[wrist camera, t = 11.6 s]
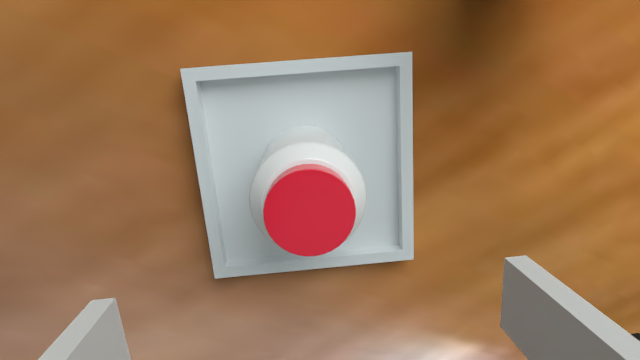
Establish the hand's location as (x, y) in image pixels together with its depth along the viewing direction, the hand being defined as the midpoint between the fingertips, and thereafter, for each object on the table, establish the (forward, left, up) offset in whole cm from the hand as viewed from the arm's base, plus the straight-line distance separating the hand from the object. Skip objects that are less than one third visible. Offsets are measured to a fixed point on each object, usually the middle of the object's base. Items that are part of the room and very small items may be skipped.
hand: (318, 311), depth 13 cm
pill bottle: (0, 0, -21) cm, 21 cm away
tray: (0, 0, -21) cm, 21 cm away
